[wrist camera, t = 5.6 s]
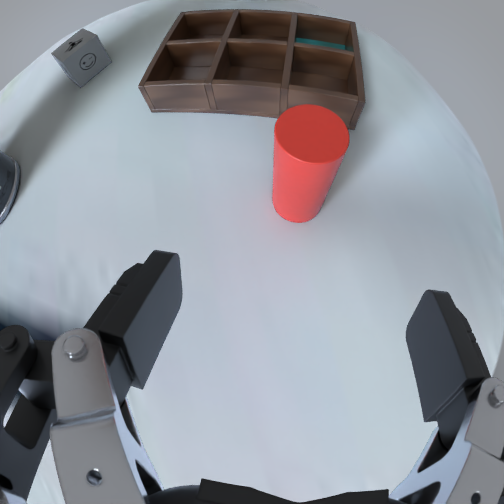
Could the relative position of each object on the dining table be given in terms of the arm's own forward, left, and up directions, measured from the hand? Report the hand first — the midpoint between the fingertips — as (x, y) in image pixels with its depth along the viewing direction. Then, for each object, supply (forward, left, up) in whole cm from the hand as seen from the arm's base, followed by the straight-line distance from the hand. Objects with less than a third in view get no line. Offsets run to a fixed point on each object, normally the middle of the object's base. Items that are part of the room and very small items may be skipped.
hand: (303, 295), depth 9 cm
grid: (-5, +22, -12) cm, 26 cm away
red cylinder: (0, +8, -12) cm, 15 cm away
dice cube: (-27, +24, -12) cm, 38 cm away
